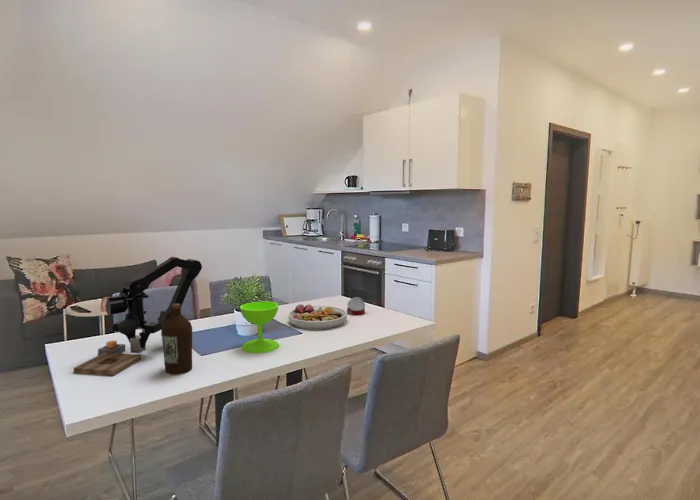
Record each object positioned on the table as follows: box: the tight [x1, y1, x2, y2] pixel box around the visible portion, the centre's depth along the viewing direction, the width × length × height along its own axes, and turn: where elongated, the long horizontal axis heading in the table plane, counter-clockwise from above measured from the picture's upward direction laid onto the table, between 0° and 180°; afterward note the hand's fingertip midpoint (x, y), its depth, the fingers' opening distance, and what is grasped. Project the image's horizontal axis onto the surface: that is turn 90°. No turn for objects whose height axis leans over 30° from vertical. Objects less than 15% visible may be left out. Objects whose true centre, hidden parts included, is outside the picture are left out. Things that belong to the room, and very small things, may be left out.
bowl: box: [288, 303, 348, 330], centre depth 222 cm, size 30×30×8 cm
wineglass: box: [239, 300, 280, 354], centre depth 184 cm, size 16×16×18 cm
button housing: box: [97, 343, 127, 356], centre depth 177 cm, size 7×7×3 cm
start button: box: [105, 340, 118, 349], centre depth 176 cm, size 4×4×3 cm
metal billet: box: [129, 334, 147, 354], centre depth 174 cm, size 4×4×6 cm
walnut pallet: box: [73, 353, 142, 377], centre depth 164 cm, size 16×16×2 cm
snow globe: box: [346, 296, 366, 317], centre depth 239 cm, size 11×10×10 cm
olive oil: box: [160, 303, 193, 376], centre depth 159 cm, size 11×11×25 cm
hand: (138, 347), depth 174 cm, fingers closed on metal billet, 4 cm apart
